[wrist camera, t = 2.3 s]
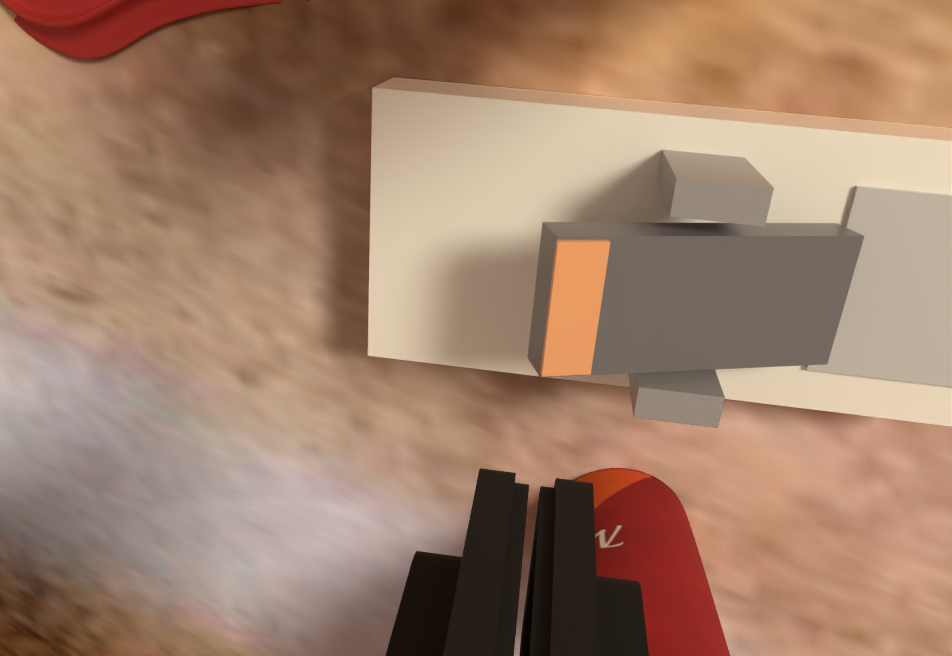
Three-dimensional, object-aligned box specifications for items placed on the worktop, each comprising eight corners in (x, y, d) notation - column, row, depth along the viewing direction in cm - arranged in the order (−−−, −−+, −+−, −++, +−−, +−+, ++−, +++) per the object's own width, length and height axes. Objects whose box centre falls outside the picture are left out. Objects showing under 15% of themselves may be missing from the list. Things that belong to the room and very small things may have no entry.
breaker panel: (1017, 133, 24) (1166, 183, 18) (928, 385, 28) (1026, 497, 22) (394, 77, 26) (336, 105, 20) (387, 321, 30) (336, 409, 24)
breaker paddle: (836, 223, 23) (867, 237, 21) (803, 346, 24) (830, 366, 23) (542, 222, 20) (558, 238, 19) (527, 357, 22) (541, 379, 21)
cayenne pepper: (-14, 37, 28) (-54, 40, 26) (-24, -108, 26) (-69, -116, 24) (312, 105, 27) (293, 112, 25) (325, -39, 25) (306, -42, 24)
